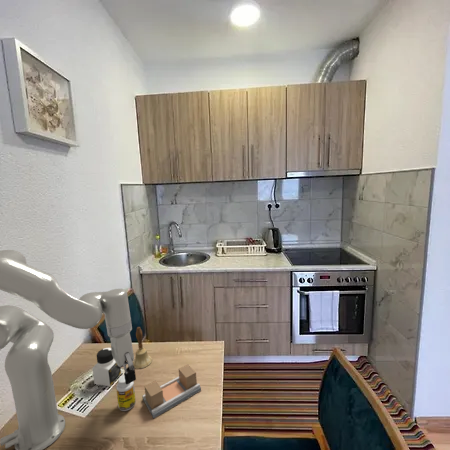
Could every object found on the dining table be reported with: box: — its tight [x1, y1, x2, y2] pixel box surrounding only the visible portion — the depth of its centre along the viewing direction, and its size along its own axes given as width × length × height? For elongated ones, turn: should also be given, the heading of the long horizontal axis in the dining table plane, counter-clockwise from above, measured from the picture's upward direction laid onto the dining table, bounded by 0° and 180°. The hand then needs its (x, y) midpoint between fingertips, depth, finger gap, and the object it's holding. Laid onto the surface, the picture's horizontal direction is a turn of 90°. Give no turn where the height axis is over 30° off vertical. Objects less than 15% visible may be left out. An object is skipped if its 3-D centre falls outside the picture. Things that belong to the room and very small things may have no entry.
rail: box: [142, 364, 202, 419], centre depth 92 cm, size 18×10×6 cm, turn 127°
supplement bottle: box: [116, 374, 136, 412], centre depth 88 cm, size 6×6×10 cm
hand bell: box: [133, 326, 153, 370], centre depth 110 cm, size 8×8×16 cm
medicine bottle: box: [92, 347, 122, 387], centre depth 101 cm, size 7×7×12 cm
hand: (126, 373), depth 87 cm, fingers open, 9 cm apart
